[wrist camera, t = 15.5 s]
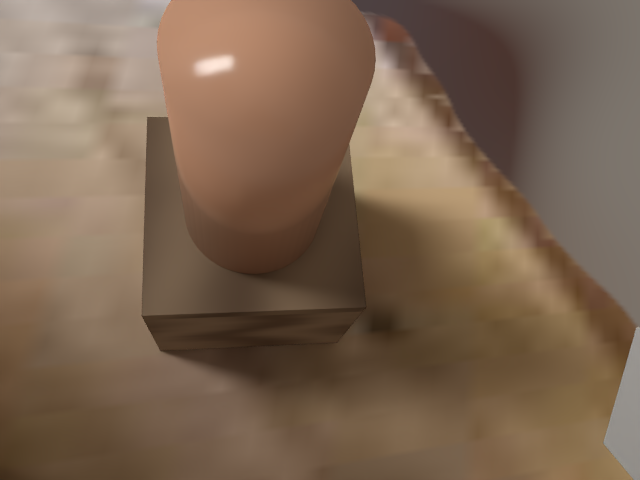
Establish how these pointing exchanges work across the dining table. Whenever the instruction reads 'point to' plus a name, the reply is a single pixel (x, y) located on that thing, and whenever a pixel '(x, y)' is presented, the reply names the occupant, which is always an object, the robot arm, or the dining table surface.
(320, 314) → the walnut crate
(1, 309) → the dining table surface
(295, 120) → the dome-topped peach cylinder
